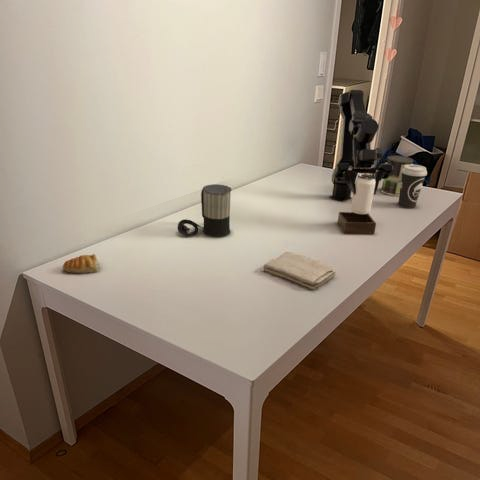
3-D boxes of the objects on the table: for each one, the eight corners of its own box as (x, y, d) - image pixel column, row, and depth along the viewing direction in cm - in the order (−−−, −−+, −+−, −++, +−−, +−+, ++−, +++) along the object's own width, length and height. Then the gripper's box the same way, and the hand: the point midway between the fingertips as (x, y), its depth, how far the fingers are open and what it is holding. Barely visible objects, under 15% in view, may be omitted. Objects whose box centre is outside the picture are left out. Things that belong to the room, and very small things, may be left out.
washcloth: (315, 291, 125) (316, 281, 124) (260, 271, 135) (261, 261, 133) (337, 276, 133) (338, 266, 132) (284, 258, 142) (285, 248, 141)
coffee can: (382, 195, 198) (389, 160, 191) (379, 187, 207) (386, 154, 199) (407, 197, 197) (415, 162, 190) (403, 189, 206) (411, 156, 198)
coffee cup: (416, 202, 192) (425, 164, 183) (421, 210, 183) (431, 171, 175) (392, 201, 192) (400, 163, 184) (396, 208, 184) (404, 169, 176)
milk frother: (236, 232, 158) (237, 188, 150) (201, 245, 148) (201, 199, 140) (206, 221, 166) (206, 179, 158) (172, 233, 156) (170, 188, 148)
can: (358, 216, 158) (365, 180, 152) (346, 209, 163) (352, 174, 157) (373, 213, 161) (380, 178, 154) (361, 207, 166) (367, 172, 159)
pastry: (64, 276, 128) (61, 263, 126) (63, 265, 133) (61, 253, 131) (99, 272, 131) (98, 259, 129) (97, 262, 136) (96, 249, 134)
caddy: (337, 222, 169) (338, 212, 167) (365, 223, 170) (367, 212, 168) (343, 233, 160) (345, 222, 158) (374, 234, 161) (376, 223, 159)
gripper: (340, 137, 152) (343, 181, 149) (397, 138, 153) (401, 182, 150) (332, 155, 163) (334, 197, 160) (385, 157, 164) (388, 198, 161)
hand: (364, 194), depth 157 cm, fingers closed on can, 6 cm apart
